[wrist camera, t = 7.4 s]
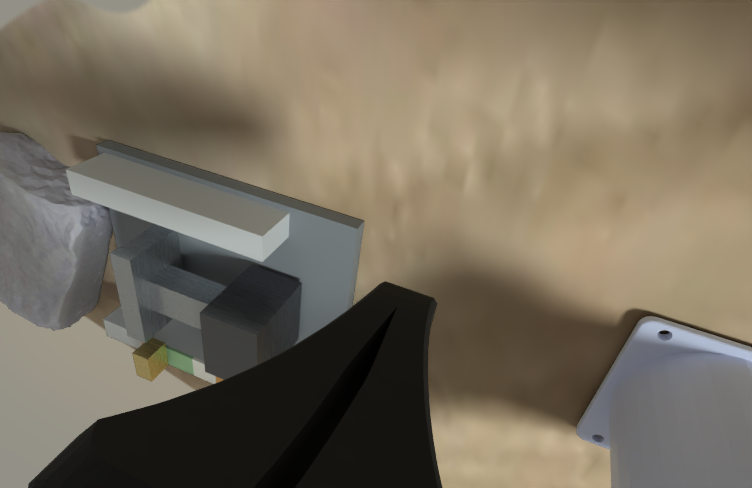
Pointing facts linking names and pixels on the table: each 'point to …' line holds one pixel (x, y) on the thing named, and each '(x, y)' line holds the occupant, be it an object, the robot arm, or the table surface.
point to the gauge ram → (205, 303)
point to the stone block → (47, 238)
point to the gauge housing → (222, 237)
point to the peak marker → (150, 359)
